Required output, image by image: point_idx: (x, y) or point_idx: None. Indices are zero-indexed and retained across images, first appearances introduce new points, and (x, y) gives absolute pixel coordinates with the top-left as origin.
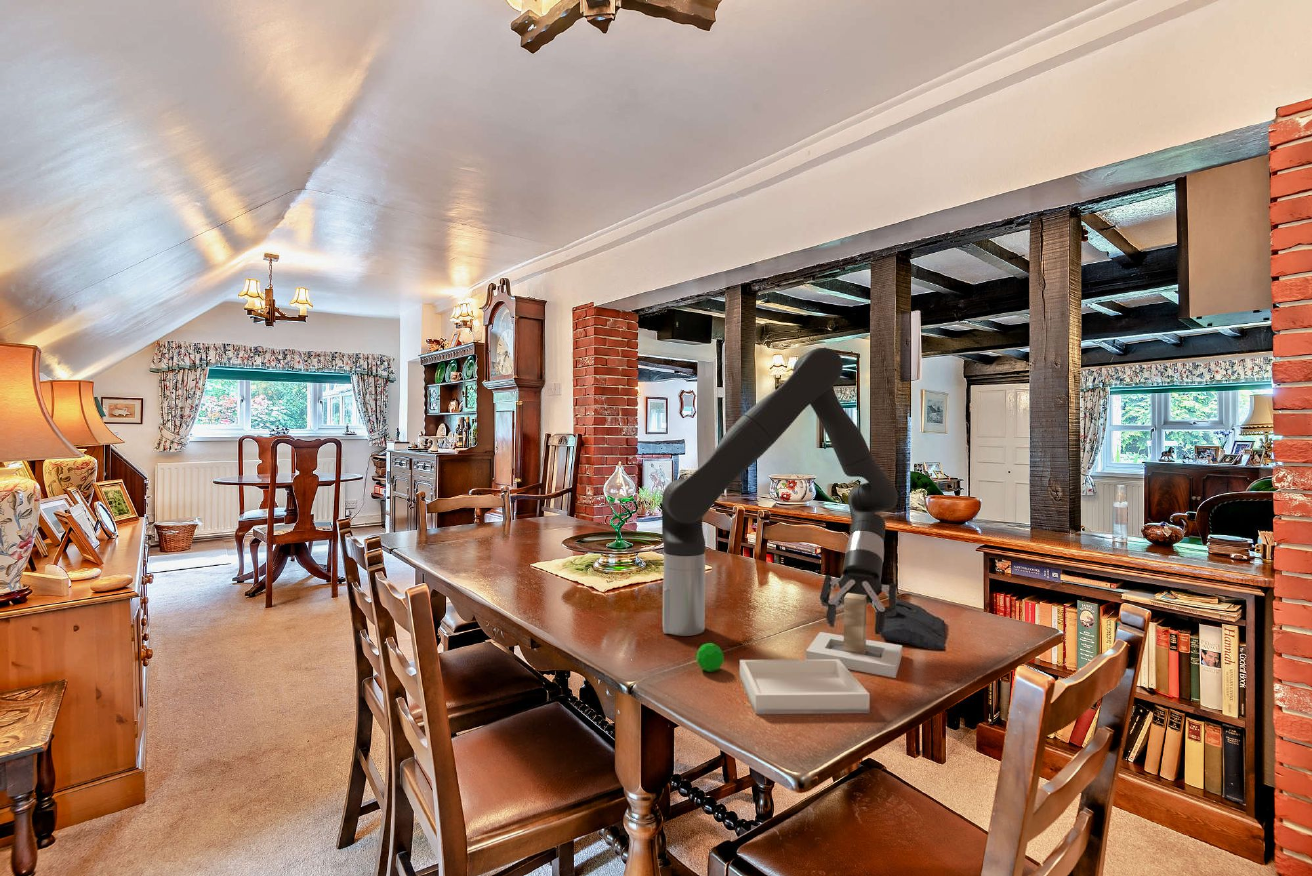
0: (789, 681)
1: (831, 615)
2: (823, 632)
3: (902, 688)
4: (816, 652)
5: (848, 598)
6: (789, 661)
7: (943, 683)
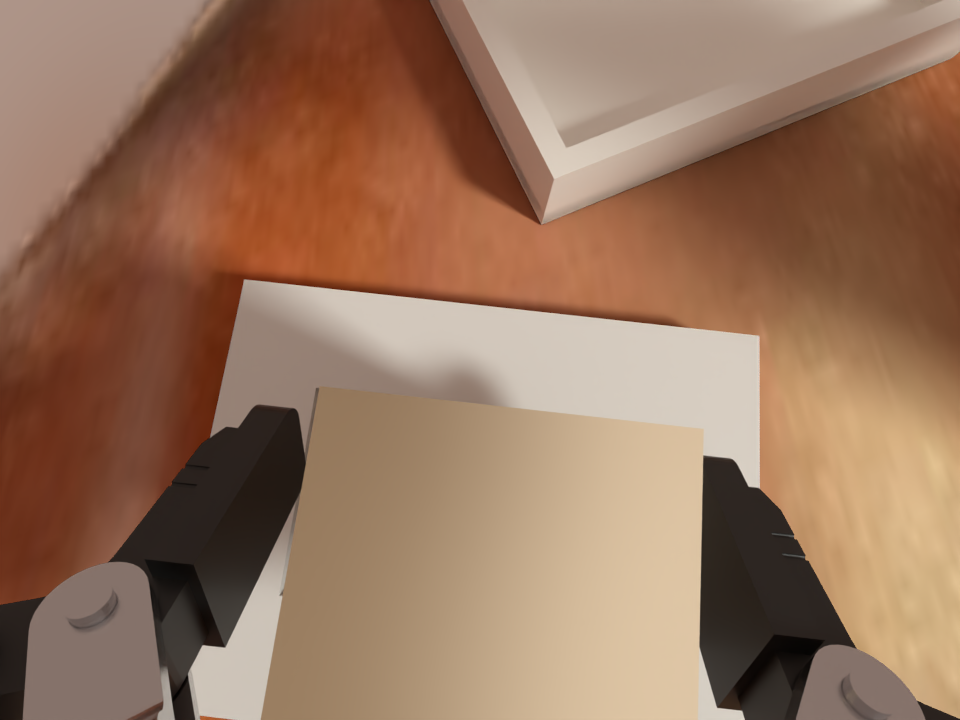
0: (737, 26)
1: (739, 502)
2: None
3: (249, 195)
4: (695, 329)
5: (613, 423)
6: (798, 57)
7: (39, 326)
